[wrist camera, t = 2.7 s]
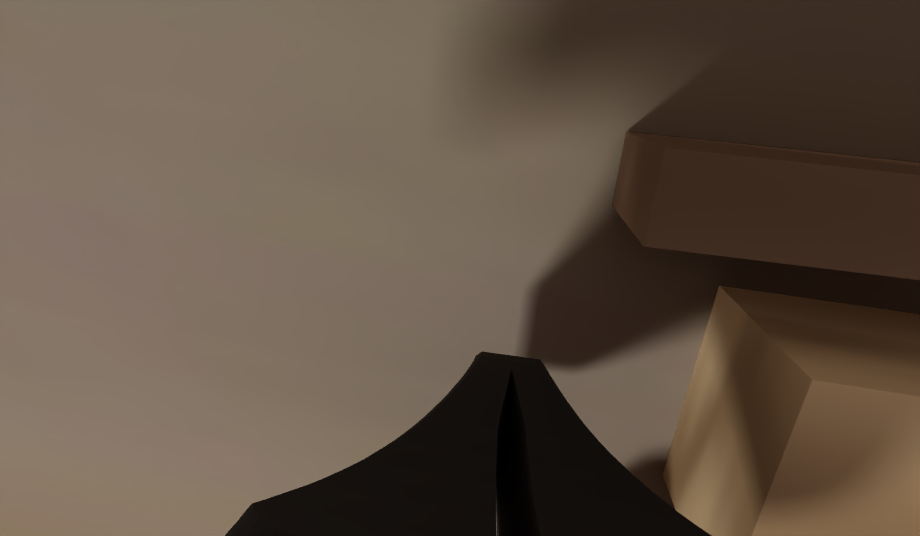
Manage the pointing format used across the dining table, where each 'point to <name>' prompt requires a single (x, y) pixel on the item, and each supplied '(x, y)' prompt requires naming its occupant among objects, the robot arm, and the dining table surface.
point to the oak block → (800, 420)
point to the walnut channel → (771, 204)
